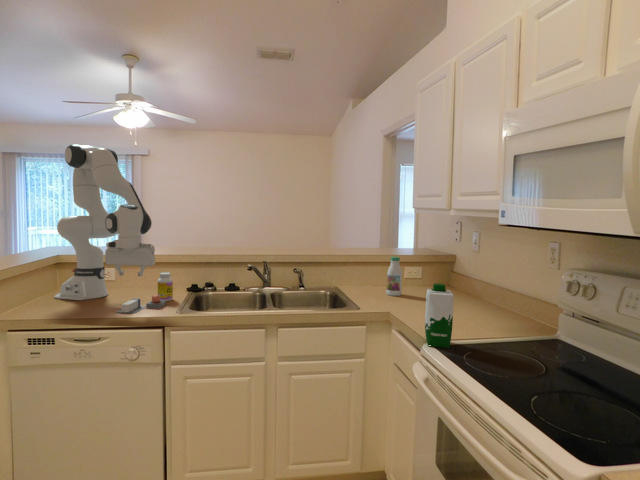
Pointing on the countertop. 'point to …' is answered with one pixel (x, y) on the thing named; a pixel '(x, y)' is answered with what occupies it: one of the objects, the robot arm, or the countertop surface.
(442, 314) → the milk carton
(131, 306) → the grey rectangular bar
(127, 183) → the robot arm
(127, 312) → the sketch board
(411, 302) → the countertop surface
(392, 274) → the milk bottle
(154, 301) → the button
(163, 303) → the button collar
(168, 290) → the supplement bottle
